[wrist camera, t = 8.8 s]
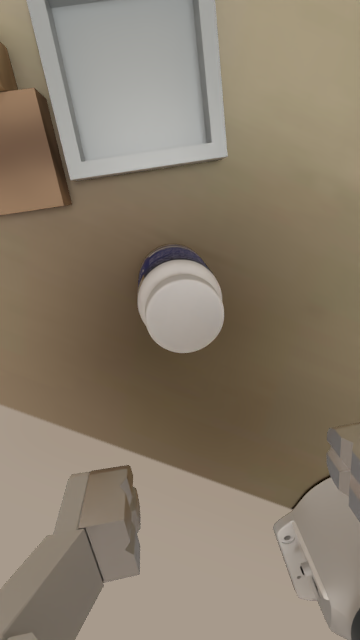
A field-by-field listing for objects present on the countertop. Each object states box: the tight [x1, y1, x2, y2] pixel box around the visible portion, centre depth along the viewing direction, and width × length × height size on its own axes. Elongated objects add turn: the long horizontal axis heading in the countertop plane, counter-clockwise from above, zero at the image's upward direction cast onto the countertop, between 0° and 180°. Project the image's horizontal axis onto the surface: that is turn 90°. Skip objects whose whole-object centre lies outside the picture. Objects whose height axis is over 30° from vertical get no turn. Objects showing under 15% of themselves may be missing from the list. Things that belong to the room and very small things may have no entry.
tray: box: [27, 0, 227, 181], centre depth 22 cm, size 11×11×2 cm
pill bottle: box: [137, 244, 224, 353], centre depth 24 cm, size 6×6×10 cm
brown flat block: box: [0, 88, 72, 215], centre depth 23 cm, size 7×7×3 cm
